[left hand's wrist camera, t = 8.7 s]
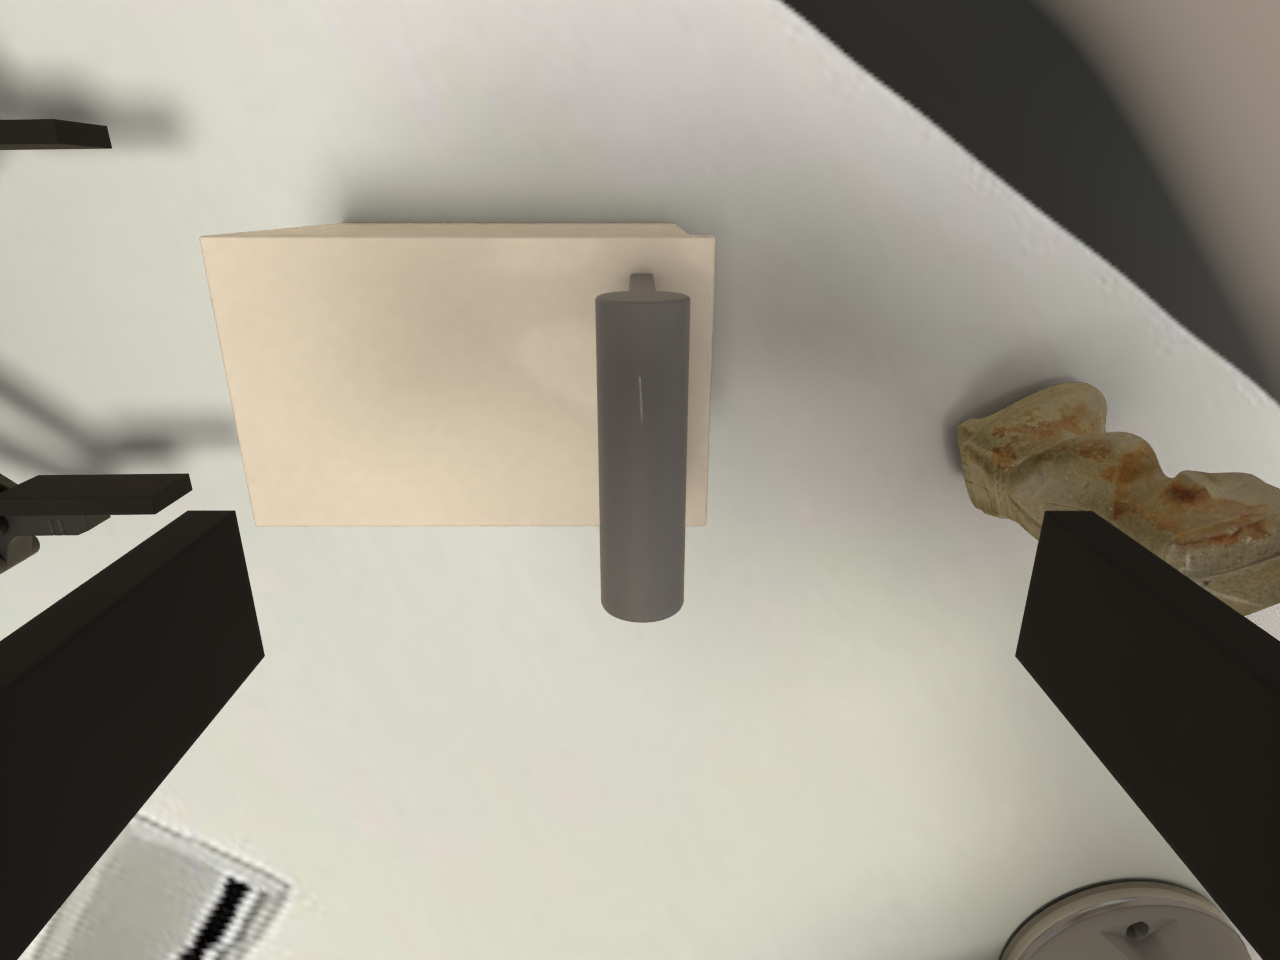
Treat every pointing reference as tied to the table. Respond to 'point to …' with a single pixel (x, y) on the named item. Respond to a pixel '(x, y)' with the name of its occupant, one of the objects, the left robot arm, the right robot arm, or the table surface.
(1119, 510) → the sculpture
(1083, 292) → the table surface
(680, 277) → the lid
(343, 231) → the chest
